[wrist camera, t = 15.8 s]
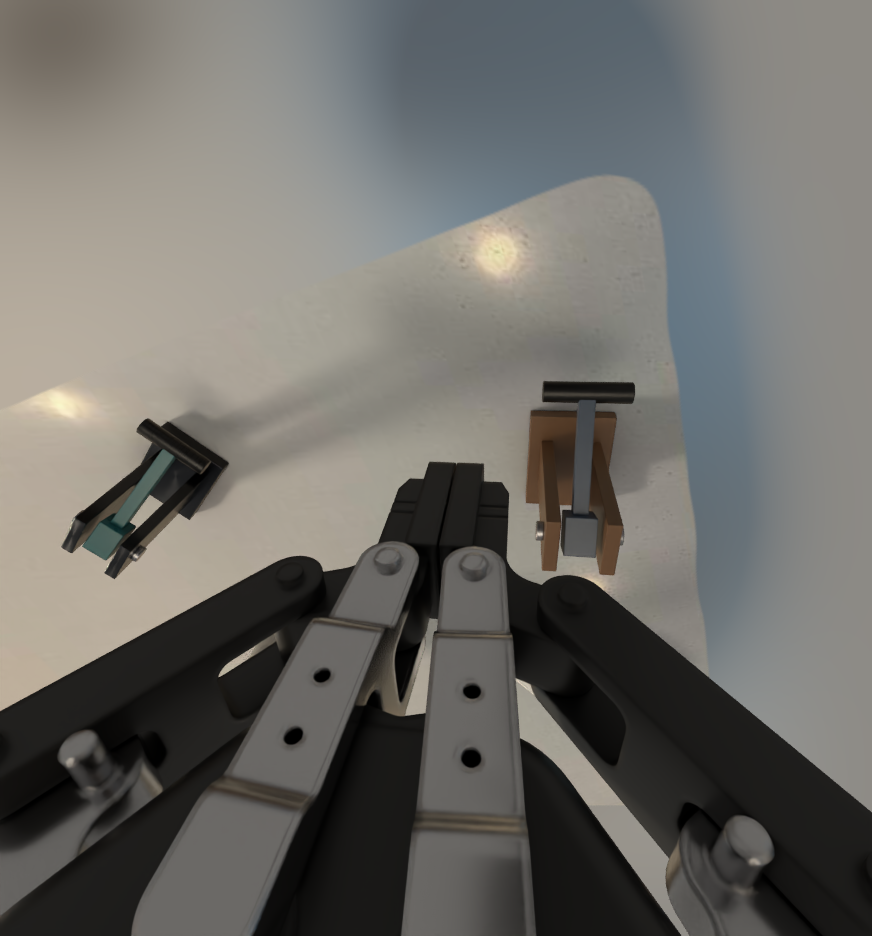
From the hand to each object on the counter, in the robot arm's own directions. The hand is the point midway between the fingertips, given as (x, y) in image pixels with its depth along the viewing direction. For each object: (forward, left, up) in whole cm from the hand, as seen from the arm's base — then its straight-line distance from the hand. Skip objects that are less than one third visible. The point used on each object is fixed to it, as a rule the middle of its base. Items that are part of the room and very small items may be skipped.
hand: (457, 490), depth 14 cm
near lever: (+10, +8, -21) cm, 25 cm away
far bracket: (+24, -29, -29) cm, 48 cm away
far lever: (+21, -27, -21) cm, 40 cm away
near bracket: (+14, +9, -29) cm, 33 cm away
